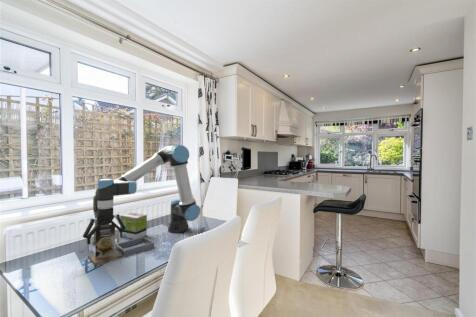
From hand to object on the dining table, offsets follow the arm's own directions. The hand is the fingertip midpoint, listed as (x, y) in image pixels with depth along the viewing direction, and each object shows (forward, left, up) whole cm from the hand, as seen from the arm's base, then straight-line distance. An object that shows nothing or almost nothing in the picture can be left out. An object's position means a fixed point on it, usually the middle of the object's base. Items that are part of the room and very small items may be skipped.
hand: (105, 246), depth 122 cm
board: (0, 0, -6) cm, 6 cm away
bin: (-16, -1, -6) cm, 18 cm away
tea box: (-24, -23, -6) cm, 34 cm away
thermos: (-6, -28, -6) cm, 29 cm away
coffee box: (0, 0, -5) cm, 5 cm away
